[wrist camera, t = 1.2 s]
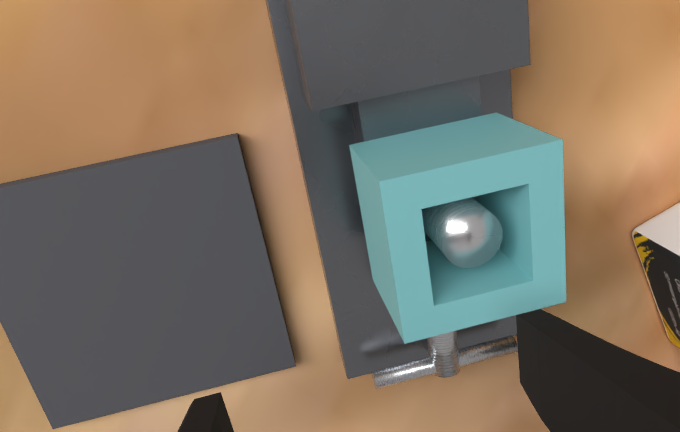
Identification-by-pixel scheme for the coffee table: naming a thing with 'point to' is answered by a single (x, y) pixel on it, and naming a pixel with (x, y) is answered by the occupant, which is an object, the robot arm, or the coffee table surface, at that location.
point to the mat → (138, 280)
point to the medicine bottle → (662, 265)
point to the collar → (456, 184)
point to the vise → (386, 120)
